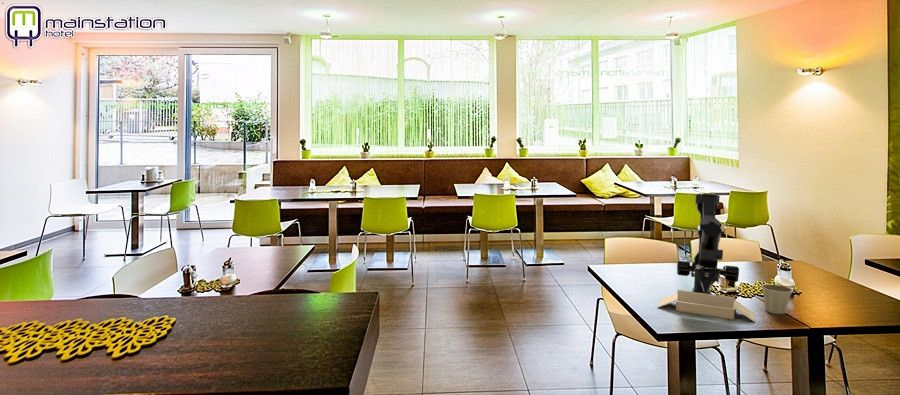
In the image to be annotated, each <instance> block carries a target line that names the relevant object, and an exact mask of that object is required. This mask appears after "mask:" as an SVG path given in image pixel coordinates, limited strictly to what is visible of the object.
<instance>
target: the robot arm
mask: <svg viewBox="0 0 900 395" xmlns="http://www.w3.org/2000/svg"><path fill="white" fill-rule="evenodd" d="M694 204H695V205H696V211H697V212H698V214H699V215H700V217H699V225H697V230H696V234H697V236H698V238H699V239H698V252H697V253H696V255H695V256H694V258H693V261H692V262H691V261H690V260H678V261H677V265H676V274H677V275H678V276H684V277H688V276H689V275H690V277H691V278H694V280H693V281H694V282H693V288H692V289H691V290H692V291H691V292H697V293H704V294H711V293H712V289H711V287H712V286H713V285H714V284H715V283H718V282H719V280H720V276H724V279H725V280H726V281H727V282H733V283H736V282H739V276H740V268H739V266H735V265H725V268H718V264H719V263H718V262H719V261H723V255H724V250H723V249H719V245H720V241H721V238H722V237H723V236H724V235H725V231H724V229H723V228H722V226H720V220H719V219H718V218H716V210H717V207H718V206H719V205H720V195H719V194H716V193H714V192H698V194H696V195H695V198H694Z"/></svg>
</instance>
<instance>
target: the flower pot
mask: <svg viewBox="0 0 900 395" xmlns="http://www.w3.org/2000/svg"><path fill="white" fill-rule="evenodd" d="M761 288H762V291H763V299H764V300H763V301H764V310H765V311H766V312H768V313H770V314H774V315H785V314H786V312H787V309H788V305H789V301H790V297H791V295H792V294H793V292H794V289H792V288H791V287H788V286H785V285H784V286H783V285H779V284H762V285H761Z"/></svg>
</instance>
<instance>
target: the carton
mask: <svg viewBox="0 0 900 395" xmlns="http://www.w3.org/2000/svg"><path fill="white" fill-rule="evenodd" d="M675 302H676V303H675ZM671 303H675V311H676V312H680V313H686V314H687V313H688V314H693V315H700V316H708V317H713V318H719V319H725V320H726V319H727V320H732V321H733V320H735V311H737V312H738V313H740V314H741V315H743V316H745V318H748V319H749V320H751V321H752V322H754V323H755V322H756V319H755V318H756V317H755V312H754V311H752V310H751V309H749V308H748V307H747V306H745V305H743V304H742V303H741V302H739V301H738V300H736V299H734V307H733V309H729V308H722V307H715V306H708V305H701V304H694V303H687V302H680V301H678V293H677V292H676V293H673V294H670V295H668V296H666V297H665V296H664V297H662V298H660V300H659V302H658V304H657V309H658V308H662V307H664V306H667V305H669V304H671Z"/></svg>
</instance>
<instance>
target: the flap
mask: <svg viewBox="0 0 900 395" xmlns="http://www.w3.org/2000/svg"><path fill="white" fill-rule="evenodd" d="M676 293H678V301H680V302H687V303H694V304H701V305H708V306H715V307H722V308H729V309H733V307H734V300H735V297H733V296H727V295H718V294H704V293H697V292H692V291H689V290H688V291H687V290H679V289H677V292H676Z"/></svg>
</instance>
